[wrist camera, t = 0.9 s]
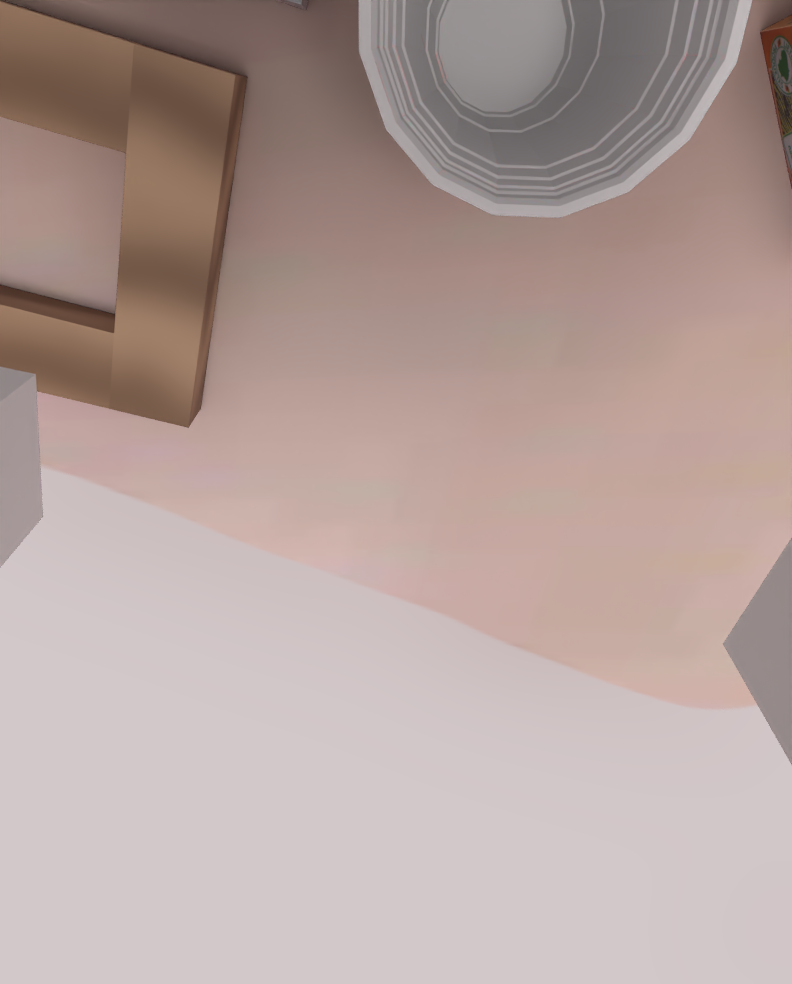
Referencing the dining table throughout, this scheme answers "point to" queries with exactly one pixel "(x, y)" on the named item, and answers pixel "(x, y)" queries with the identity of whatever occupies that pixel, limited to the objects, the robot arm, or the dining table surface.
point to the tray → (296, 3)
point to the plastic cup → (545, 91)
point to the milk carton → (781, 78)
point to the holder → (127, 212)
